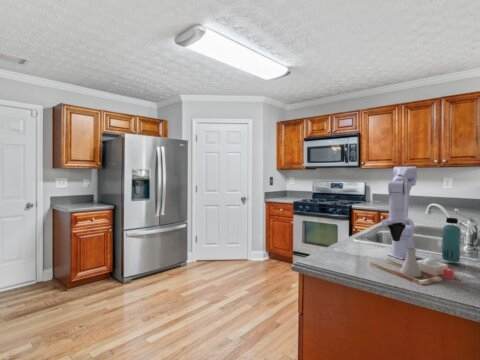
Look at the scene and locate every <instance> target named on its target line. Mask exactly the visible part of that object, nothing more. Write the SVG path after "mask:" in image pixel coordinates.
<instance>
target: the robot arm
mask: <svg viewBox="0 0 480 360" xmlns="http://www.w3.org/2000/svg"><path fill="white" fill-rule="evenodd" d="M392 171H393V172H392V175H393V178H392V180H391V181H389V182H388V186H387V191H388V199H389V200H388V201H389V202H388V205H389V207H388V211H389V212H388V213H389V214H388V217H387V218H386V219H382V224H381V225H383V226H387V228H388V234H389V236H391V240H392V241H391V252H390V253H387V256H391V257H394V258H396V259H400V260H405V259H406V255H407V250H406V249H407V248H412V249H415V248H416V247H415V245H416V244H415V241H414V239H413V237H414V233H415V232H414V231H415V229H414V221H413V220H412V219H411V218H409V217H408V216H409V204H410V203H409V202H410V193H411V189H412V187H413V186H416V183H417V180H418V179H417V178H418V167H417V166H394V167H393V169H392Z"/></svg>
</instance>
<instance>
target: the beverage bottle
mask: <svg viewBox="0 0 480 360" xmlns="http://www.w3.org/2000/svg"><path fill="white" fill-rule="evenodd" d="M445 223H448V224H446V225H444V226H443V227H442V251H441V256H442V257H441V259H442V260H444V261H445V262H452V263H458V262H460V260H461V227H459V226H457V225H455V224H459V221H458V218H456V217H446V221H445ZM453 224H454V225H453Z"/></svg>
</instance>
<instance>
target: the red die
mask: <svg viewBox="0 0 480 360" xmlns="http://www.w3.org/2000/svg"><path fill="white" fill-rule="evenodd" d="M455 272H456V269H452V268H449V267H448V268H445V269H443V275H442V279H448V280H451V281H452V280H454V279H455V278H456V277H455V275H456V273H455Z"/></svg>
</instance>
